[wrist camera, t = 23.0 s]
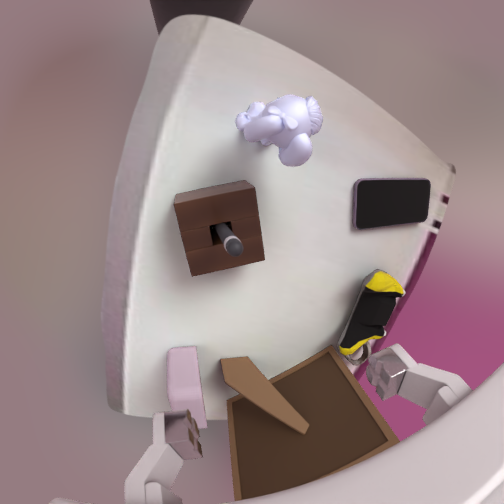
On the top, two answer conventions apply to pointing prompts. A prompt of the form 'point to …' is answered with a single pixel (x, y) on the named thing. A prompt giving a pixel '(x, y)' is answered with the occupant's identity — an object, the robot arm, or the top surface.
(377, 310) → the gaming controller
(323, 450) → the photo frame
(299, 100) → the toy figurine
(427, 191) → the smartphone
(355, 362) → the wristwatch
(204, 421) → the electronic device
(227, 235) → the stylus
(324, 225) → the top surface
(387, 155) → the top surface
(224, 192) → the pen block
